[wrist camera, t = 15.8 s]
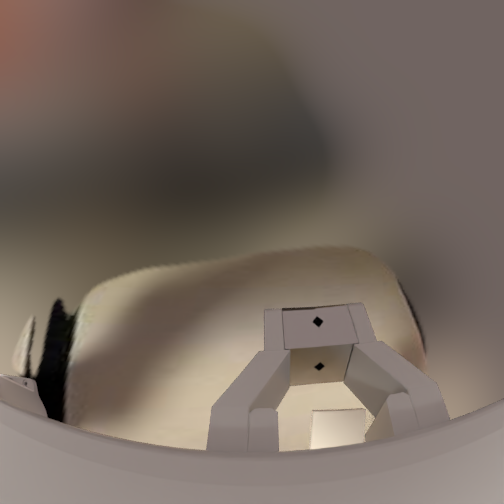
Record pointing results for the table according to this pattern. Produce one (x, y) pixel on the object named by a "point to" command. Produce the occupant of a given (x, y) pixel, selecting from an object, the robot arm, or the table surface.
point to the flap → (337, 427)
